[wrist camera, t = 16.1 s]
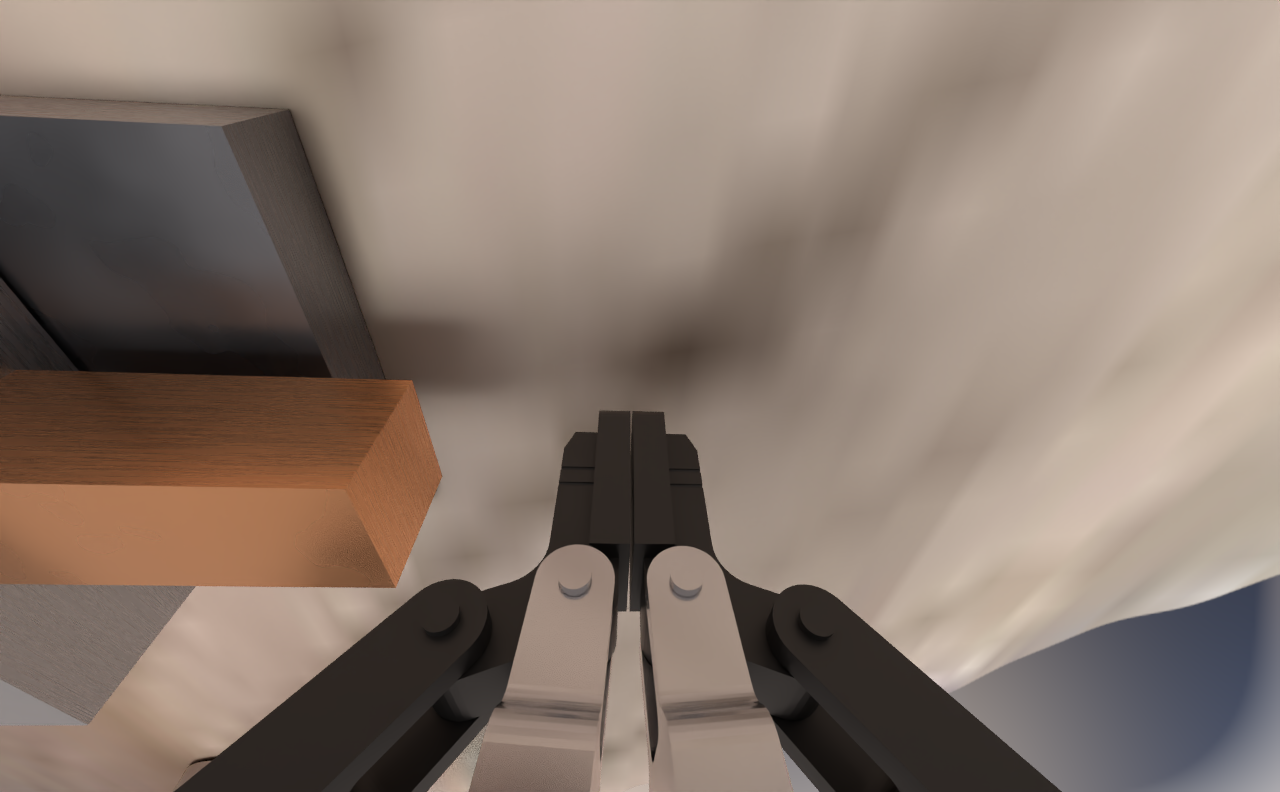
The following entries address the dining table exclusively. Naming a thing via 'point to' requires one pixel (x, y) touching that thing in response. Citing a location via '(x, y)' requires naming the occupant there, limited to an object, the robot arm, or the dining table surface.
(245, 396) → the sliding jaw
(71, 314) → the vise
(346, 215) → the dining table surface
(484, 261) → the dining table surface
